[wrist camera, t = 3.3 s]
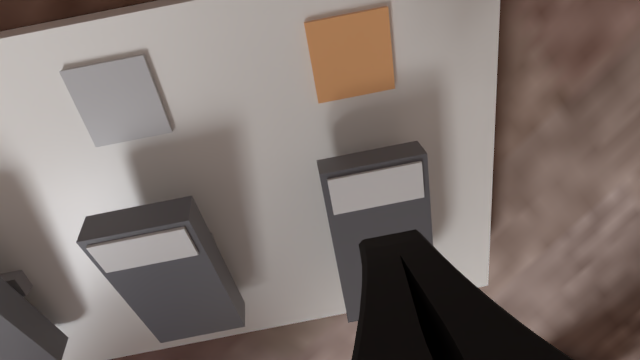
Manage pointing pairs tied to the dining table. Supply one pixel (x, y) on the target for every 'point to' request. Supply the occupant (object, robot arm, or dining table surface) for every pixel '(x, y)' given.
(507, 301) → the dining table surface
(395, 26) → the switch panel
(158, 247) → the block
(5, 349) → the block
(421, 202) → the block
